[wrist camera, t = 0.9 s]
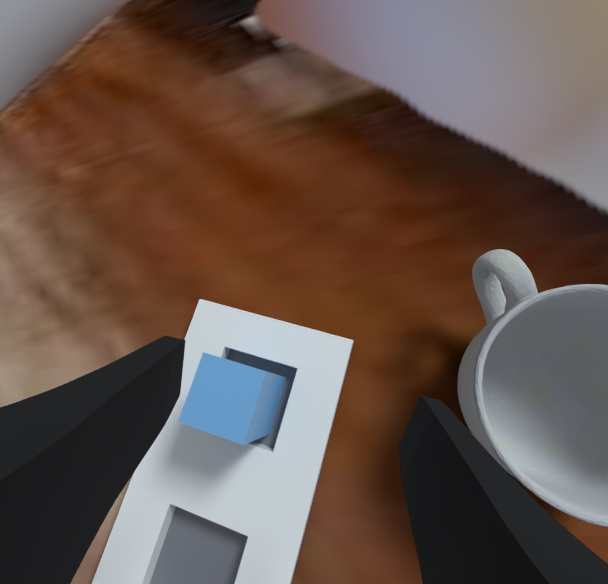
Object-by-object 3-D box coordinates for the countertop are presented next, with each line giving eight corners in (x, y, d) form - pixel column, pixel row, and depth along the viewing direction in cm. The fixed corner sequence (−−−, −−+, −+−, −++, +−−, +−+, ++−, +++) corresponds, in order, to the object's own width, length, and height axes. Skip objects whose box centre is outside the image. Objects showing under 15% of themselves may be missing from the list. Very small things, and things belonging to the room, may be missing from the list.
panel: (259, 705, 21) (251, 730, 19) (91, 617, 23) (73, 632, 22) (353, 343, 26) (353, 340, 24) (208, 304, 28) (199, 298, 27)
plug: (269, 434, 24) (243, 445, 19) (218, 416, 25) (177, 421, 20) (286, 377, 25) (266, 371, 20) (236, 362, 26) (203, 352, 21)
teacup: (653, 467, 21) (818, 505, 14) (473, 503, 22) (535, 559, 14) (552, 260, 26) (635, 201, 18) (405, 296, 26) (425, 255, 19)
